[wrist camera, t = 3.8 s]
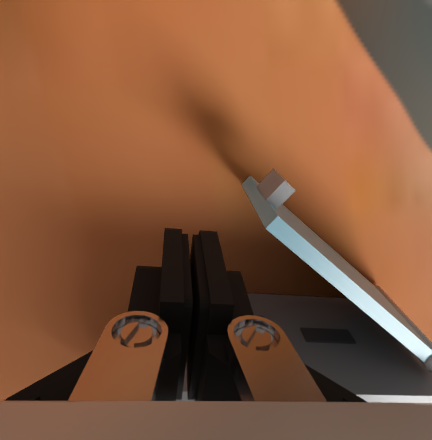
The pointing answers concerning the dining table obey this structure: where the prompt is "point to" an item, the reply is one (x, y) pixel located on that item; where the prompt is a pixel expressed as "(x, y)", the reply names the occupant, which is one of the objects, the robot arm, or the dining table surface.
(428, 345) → the side door
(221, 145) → the dining table surface
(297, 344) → the camera body
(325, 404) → the robot arm
